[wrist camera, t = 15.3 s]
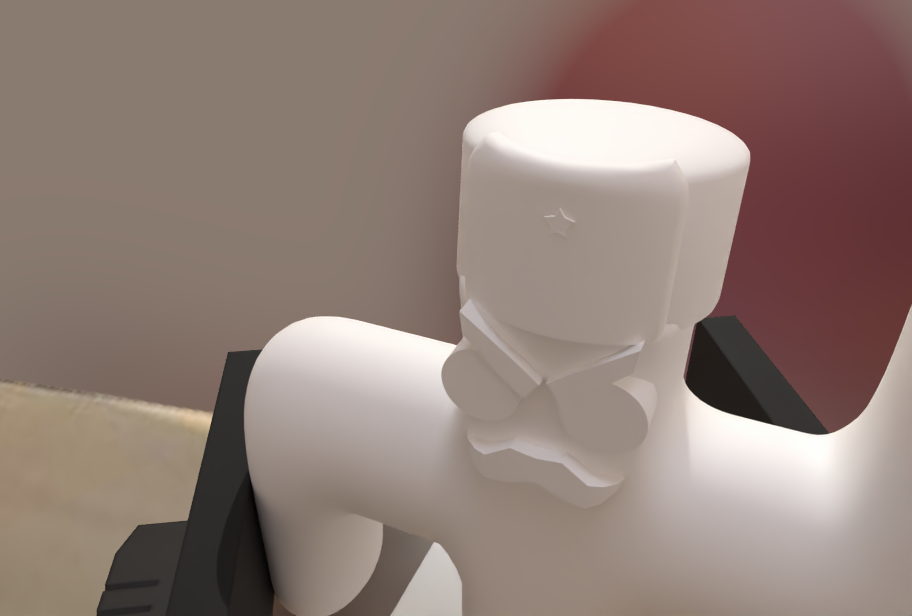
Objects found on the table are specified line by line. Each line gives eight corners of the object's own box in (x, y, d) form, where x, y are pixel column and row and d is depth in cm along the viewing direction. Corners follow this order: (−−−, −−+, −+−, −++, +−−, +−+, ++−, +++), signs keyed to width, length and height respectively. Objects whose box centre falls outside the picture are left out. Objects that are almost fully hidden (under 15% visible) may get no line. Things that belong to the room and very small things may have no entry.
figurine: (401, 619, 20) (362, 12, 12) (786, 773, 16) (1096, 76, 8) (222, 931, 14) (-90, 171, 6) (754, 1263, 11) (1600, 551, 3)
